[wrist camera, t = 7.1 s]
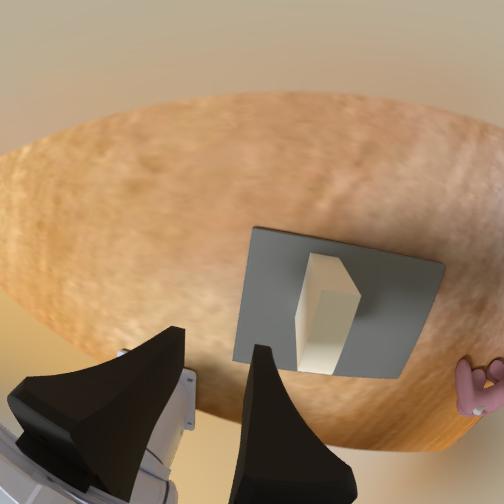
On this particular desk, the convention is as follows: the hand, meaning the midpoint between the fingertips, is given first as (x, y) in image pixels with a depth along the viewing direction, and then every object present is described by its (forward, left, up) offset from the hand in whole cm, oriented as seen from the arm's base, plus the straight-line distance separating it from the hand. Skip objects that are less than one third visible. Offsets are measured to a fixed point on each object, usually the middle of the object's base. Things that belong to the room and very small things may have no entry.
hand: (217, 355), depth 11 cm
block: (0, -5, -9) cm, 10 cm away
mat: (-2, -8, -9) cm, 12 cm away
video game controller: (-7, -27, -10) cm, 30 cm away
